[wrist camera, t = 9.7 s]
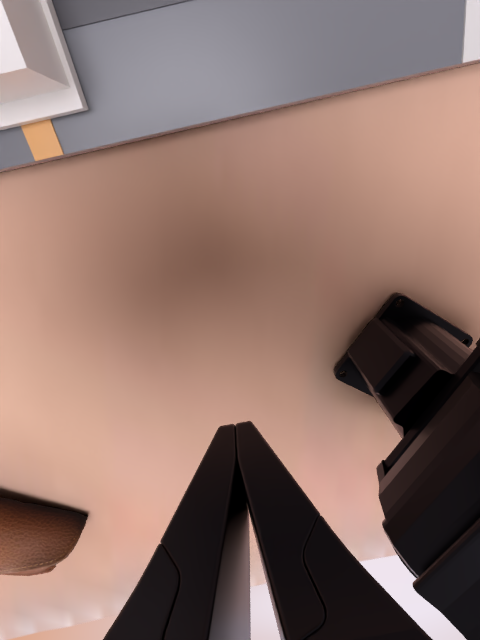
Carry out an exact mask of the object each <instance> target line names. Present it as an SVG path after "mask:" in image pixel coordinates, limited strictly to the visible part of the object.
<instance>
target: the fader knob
mask: <svg viewBox="0 0 480 640" xmlns="http://www.w3.org/2000/svg"><path fill="white" fill-rule="evenodd" d="M86 110H89V109H88V106H87V103H86V100H85V97H84V94H83V91H82V88H81V86H80V83H79V80H78V77H77V74H76V71H75V68H74V65H73V62H72V59H71V56H70V53H69V50H68V47H67V44H66V41H65V38H64V35H63V32H62V30H61V27H60V24H59V21H58V18H57V15H56V12H55V9H54V6H53V3H52V0H0V130H4V129H9V128H13V127H17V126H22V125H26V124H30V123H35V122H39V121H43V120H48V119H52V118H56V117H60V116H65V115H69V114H73V113H78V112H82V111H86Z"/></svg>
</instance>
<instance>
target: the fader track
mask: <svg viewBox="0 0 480 640" xmlns="http://www.w3.org/2000/svg"><path fill="white" fill-rule="evenodd" d="M52 3H53V6H54V9H55V12H56V15H57V18H58V21H59V24H60V27H61V30H62V32H63V35H64V38H65V41H66V44H67V47H68V50H69V53H70V56H71V59H72V62H73V65H74V68H75V71H76V74H77V77H78V80H79V83H80V86H81V88H82V91H83V94H84V97H85V100H86V103H87V106H88V109H89V110H86V111H82V112H78V113H73V114H69V115H65V116H60V117H56V118H52V119H48V120H43V121H39V122H35V123H30V124H26V125H22V126H17V127H13V128H9V129H4V130H0V172H5V171H9V170H13V169H18V168H22V167H26V166H31V165H35V164H39V163H44V162H48V161H52V160H57V159H61V158H66V157H70V156H74V155H79V154H83V153H87V152H92V151H96V150H100V149H105V148H109V147H113V146H118V145H122V144H127V143H131V142H135V141H140V140H144V139H148V138H153V137H157V136H161V135H166V134H170V133H175V132H179V131H183V130H188V129H192V128H196V127H201V126H205V125H209V124H214V123H218V122H222V121H227V120H231V119H236V118H240V117H244V116H249V115H253V114H257V113H262V112H266V111H270V110H275V109H279V108H283V107H288V106H292V105H297V104H301V103H305V102H310V101H314V100H318V99H323V98H327V97H331V96H336V95H340V94H344V93H349V92H353V91H358V90H362V89H366V88H371V87H375V86H379V85H384V84H388V83H392V82H397V81H401V80H405V79H410V78H414V77H419V76H423V75H427V74H432V73H436V72H440V71H445V70H449V69H453V68H458V67H462V66H466V65H471V64H475V63H480V0H52Z"/></svg>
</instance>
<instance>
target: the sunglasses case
mask: <svg viewBox="0 0 480 640" xmlns="http://www.w3.org/2000/svg"><path fill="white" fill-rule="evenodd" d="M87 517H88V516H83V515H82V514H80V513H76V512H73V511H66V510H62V509H59V508H53V507H46V506H41V505H37V504H33V503H21V502H19V501H16V500H12V499H6V498H0V575H1V574H3V575H17V576H21V575H22V576H31V575H37V574H43V573H48V572H50V571H52V570H53V569H54V568H55V567H56V566H55V565H56V564H58V563H59V562H61V561H62V560H64V559H65V558H66V557H67V556H68V555H69V554H70V553H71V552H72V550H73V549H74V547H75V545H76V543H77V541H78V540H79V538H80V535H81V533H82V530H83V529H84V527H85V524H86V520H87Z"/></svg>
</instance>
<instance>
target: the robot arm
mask: <svg viewBox="0 0 480 640" xmlns="http://www.w3.org/2000/svg"><path fill="white" fill-rule="evenodd" d="M400 299H401V302H400V303H399V304H398V305H396V302H397V301H398V300H400ZM463 339H464V341H463V342H461V341H462V340H463ZM472 341H473V339H472V337H471V336H470V335H468V334H467V333H465V332H464V331H462V330H461V329H459V328H457V327H456V326H454V325H452V324H451V323H449V322H447V321H446V320H444V319H443V318H441V317H439V316H438V315H436V314H434V313H433V312H431V311H429V310H428V309H426V308H425V307H423V306H421V305H420V304H418V303H416V302H415V301H413V300H411V299H410V298H408V297H407V296H405V295H403V294H401V293H396V294H394V295H392V296H391V297H390V299H389V300H388V301H387V302H386V304H385V305H384V306H383V307H382V309H381V310H380V311H379V312H378V314H377V315H376V316H375V318H374V319H372V320H371V321H370V322H369V324H368V325H367V326H366V328H365V329H364V330H363V331H362V333H361V334H360V335H359V336H358V338H357V339H356V340H355V342H354V343H353V344H352V345H351V347H350V348H349V349H348V352H347V353H346V354H345V356H344V357H343V358H342V359H341V361H340V362H339V363H338V364H337V366H336V367H335V369H334V375H335V376H336V378H337V379H338V380H340V381H342V382H344V383H346V384H348V385H350V386H352V387H354V388H356V389H358V390H360V391H362V392H364V393H366V394H369V395H371V396H373V397H375V399H376V400H377V402H378V403H379V405H380V406H381V408H382V409H383V411H384V412H385V414H386V415H387V417H388V418H389V420H390V421H391V423H392V424H393V426H394V427H395V429H396V430H397V432H398V433H399V435H400V436H401V438H402V440H401V441H400V442H399V444H398V445H397V446H396V447H395V449H394V450H393V451H392V452H391V454H390V455H389V456H388V457H387V459H386V460H382V461H381V463H380V464H379V465H378V466H377V468H376V469H377V475H378V480H379V499H380V502H381V506H382V509H383V512H384V516H385V519H384V521H383V522H382V525H383V528H384V531H385V533H386V535H387V537H388V539H389V540H390V542H391V544H392V546H393V548H394V550H395V552H396V553H397V555H398V556H399V558H400V559H401V561H402V562H403V564H404V565H405V566H406V567H407V569H408V570H409V571H410V572H411V573H412V574H413V575H414V576H415V577H416V578H417V579H416V580H415V581H414V582H413V587H414V589H415V591H416V592H417V593H418V594H419V595H421V596H422V597H423V598H424V599H425V600H427V601H428V602H429V603H430V604H432V605H433V606H434V607H435V608H437V609H438V610H439V611H440V612H441V613H442V614H443V615H444V616H445V617H446V618H447V619H448V620H449V621H450V622H451V623H452V624H453V625H454V626H455V627H456V628H457V629H458V630H459V632H460V633H462V634H463V636H464V637H465V638H466V639H467V640H480V339H479V340H478V341H477V343H476V345H477V347H476V348H475V349H474V350H473V351H472V350H471V349H469V346H470V345H471V344H472ZM341 371H345V372H344V373H342V374H340V372H341ZM248 509H249V510H248ZM249 513H250V517H251V522H252V526H253V530H254V534H255V538H256V542H257V546H258V550H259V554H260V558H261V562H262V566H263V570H264V574H265V578H266V582H267V586H268V590H269V594H270V598H271V602H272V605H273V610H274V614H275V618H276V622H277V626H278V630H279V634H280V637H281V640H432V639H431V638H430V637H429V636H428V635H427V634H426V633H425V632H424V630H422V629H421V628H420V626H419V625H417V623H416V622H415V621H414V620H413V619H412V618H411V617H410V616H409V615H408V614H407V613H406V612H405V611H404V610H403V608H402V607H400V605H399V604H398V603H397V602H396V601H395V600H394V599H393V598H392V597H391V596H390V595H389V594H388V593H387V592H386V591H385V589H384V588H382V586H381V585H380V584H379V583H378V582H377V581H376V580H375V579H374V578H373V577H372V576H371V575H370V574H369V573H368V572H367V571H366V569H365V568H364V567H363V566H362V565H361V564H360V563H359V561H358V560H357V559H356V558H355V557H354V556H353V555H352V554H351V552H350V551H349V550H348V549H347V548H346V547H345V545H344V544H343V543H342V542H341V540H340V539H339V538H338V537H337V535H336V534H335V533H334V531H333V530H332V529H331V528H330V526H329V525H328V524H327V522H326V521H325V520H324V518H323V517H322V516H320V513H319V512H318V510H317V509H316V508H315V506H314V505H313V504H312V502H311V501H310V500H309V498H308V497H307V496H306V494H305V493H304V492H303V490H302V489H301V488H300V486H299V485H298V483H297V482H296V481H295V479H294V478H293V477H292V475H291V474H290V473H289V471H288V470H287V469H286V467H285V466H284V465H283V463H282V462H281V461H280V459H279V458H278V457H277V455H276V454H275V453H274V451H273V450H272V449H271V447H270V446H269V444H268V443H267V442H266V440H265V439H264V438H263V436H262V435H261V434H260V432H259V431H258V430H257V428H256V427H255V426H254V424H253V423H252V422H251V421H247V422H241V423H237V424H236V426H235V425H234V424H230V425H224V426H220V427H219V428H218V430H217V432H216V434H215V436H214V438H213V440H212V442H211V444H210V445H209V447H208V449H207V451H206V453H205V455H204V457H203V459H202V461H201V463H200V465H199V467H198V469H197V471H196V473H195V475H194V477H193V479H192V481H191V482H190V484H189V486H188V488H187V490H186V492H185V494H184V496H183V498H182V500H181V502H180V504H179V506H178V508H177V510H176V512H175V514H174V516H173V518H172V520H171V521H170V523H169V525H168V527H167V529H166V531H165V533H164V535H163V537H162V539H161V544H159V545H158V546H157V548H156V550H155V552H154V554H153V556H152V558H151V560H150V562H149V564H148V566H147V568H146V569H145V571H144V573H143V575H142V577H141V579H140V580H139V582H138V584H137V586H136V587H135V589H134V591H133V592H132V594H131V596H130V597H129V599H128V601H127V602H126V604H125V605H124V607H123V609H122V610H121V612H120V614H119V615H118V617H117V618H116V620H115V622H114V623H113V625H112V626H111V628H110V629H109V631H108V632H107V634H106V636H105V637H104V639H103V640H251V639H250V546H249Z"/></svg>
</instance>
